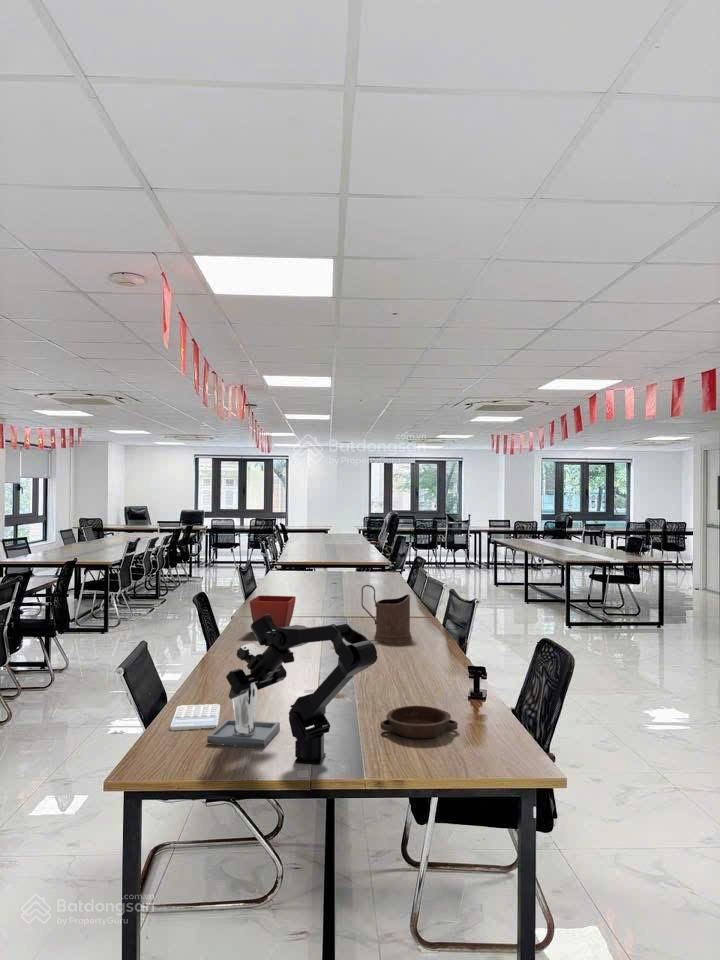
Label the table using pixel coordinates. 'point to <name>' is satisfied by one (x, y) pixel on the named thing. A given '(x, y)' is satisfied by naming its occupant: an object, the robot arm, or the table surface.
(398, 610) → the brown pitcher
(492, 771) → the table surface
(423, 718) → the dish
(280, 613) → the plant pot
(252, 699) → the silver metal cup
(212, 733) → the grey tray
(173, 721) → the calculator
